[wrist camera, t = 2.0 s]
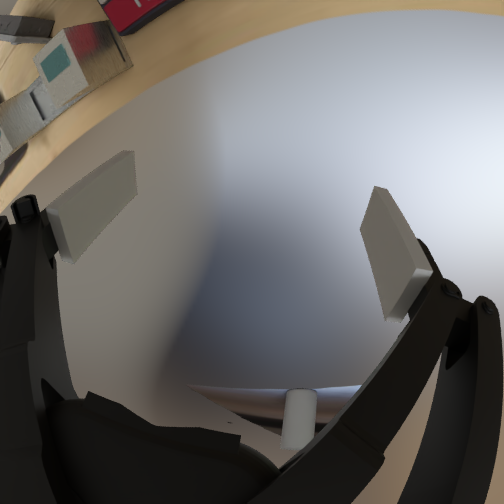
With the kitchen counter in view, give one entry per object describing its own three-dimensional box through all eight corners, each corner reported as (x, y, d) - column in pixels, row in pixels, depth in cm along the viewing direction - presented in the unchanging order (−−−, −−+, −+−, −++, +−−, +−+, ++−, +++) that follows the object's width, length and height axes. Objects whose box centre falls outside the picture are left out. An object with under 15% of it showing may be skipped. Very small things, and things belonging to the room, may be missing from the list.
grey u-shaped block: (18, 102, 31) (-21, 127, 24) (112, 19, 23) (61, 28, 16) (35, 135, 36) (-1, 164, 29) (133, 65, 28) (87, 85, 21)
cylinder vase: (291, 386, 100) (284, 446, 83) (321, 389, 100) (317, 448, 83) (283, 393, 109) (276, 448, 92) (311, 397, 109) (306, 450, 92)
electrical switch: (19, 37, 21) (-21, 48, 15) (28, 9, 18) (-13, 16, 11) (53, 43, 24) (9, 54, 17) (63, 13, 21) (19, 17, 14)
